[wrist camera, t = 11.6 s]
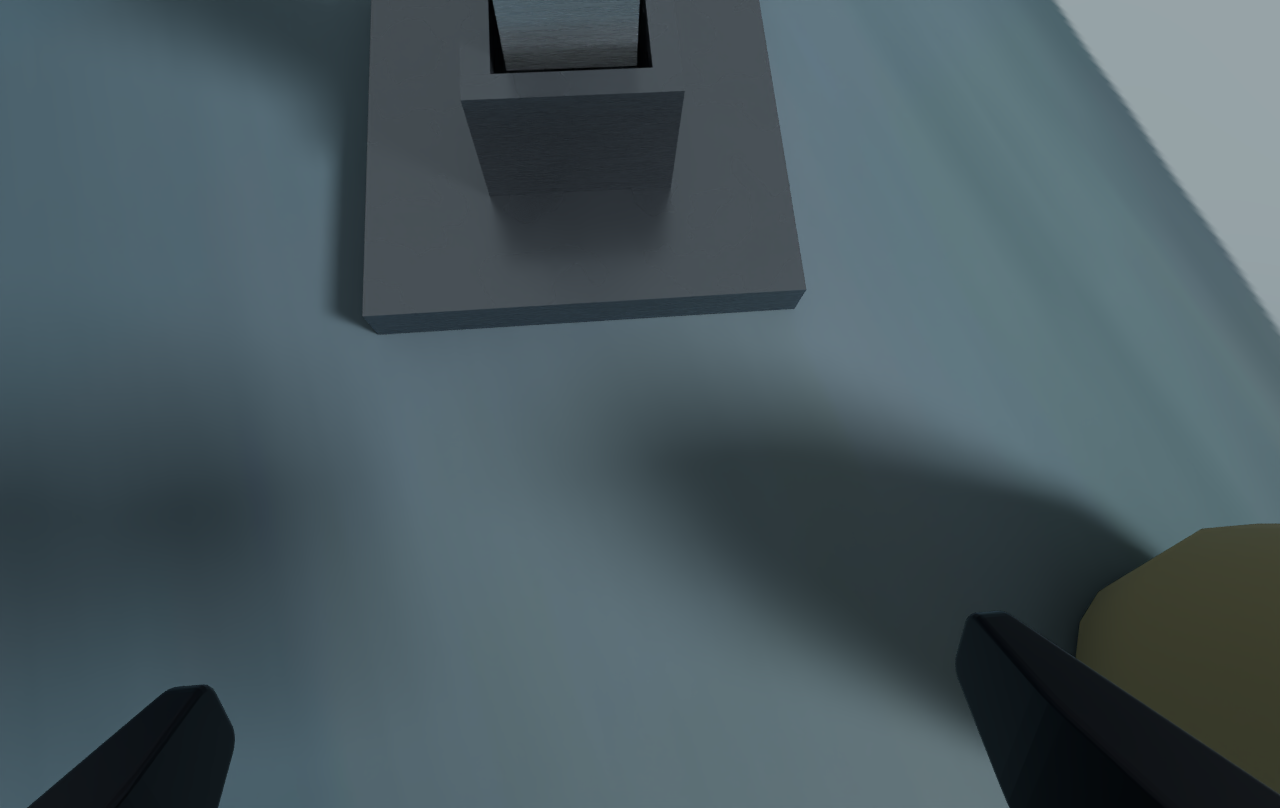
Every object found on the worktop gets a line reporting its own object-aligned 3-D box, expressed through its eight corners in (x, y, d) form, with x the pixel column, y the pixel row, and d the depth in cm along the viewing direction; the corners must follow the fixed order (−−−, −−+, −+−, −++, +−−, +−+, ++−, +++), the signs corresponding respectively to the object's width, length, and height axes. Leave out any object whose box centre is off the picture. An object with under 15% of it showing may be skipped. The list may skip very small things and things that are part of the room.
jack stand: (794, 308, 23) (854, 213, 18) (378, 334, 23) (297, 243, 17) (743, -16, 27) (778, -181, 21) (385, -4, 26) (321, -173, 21)
